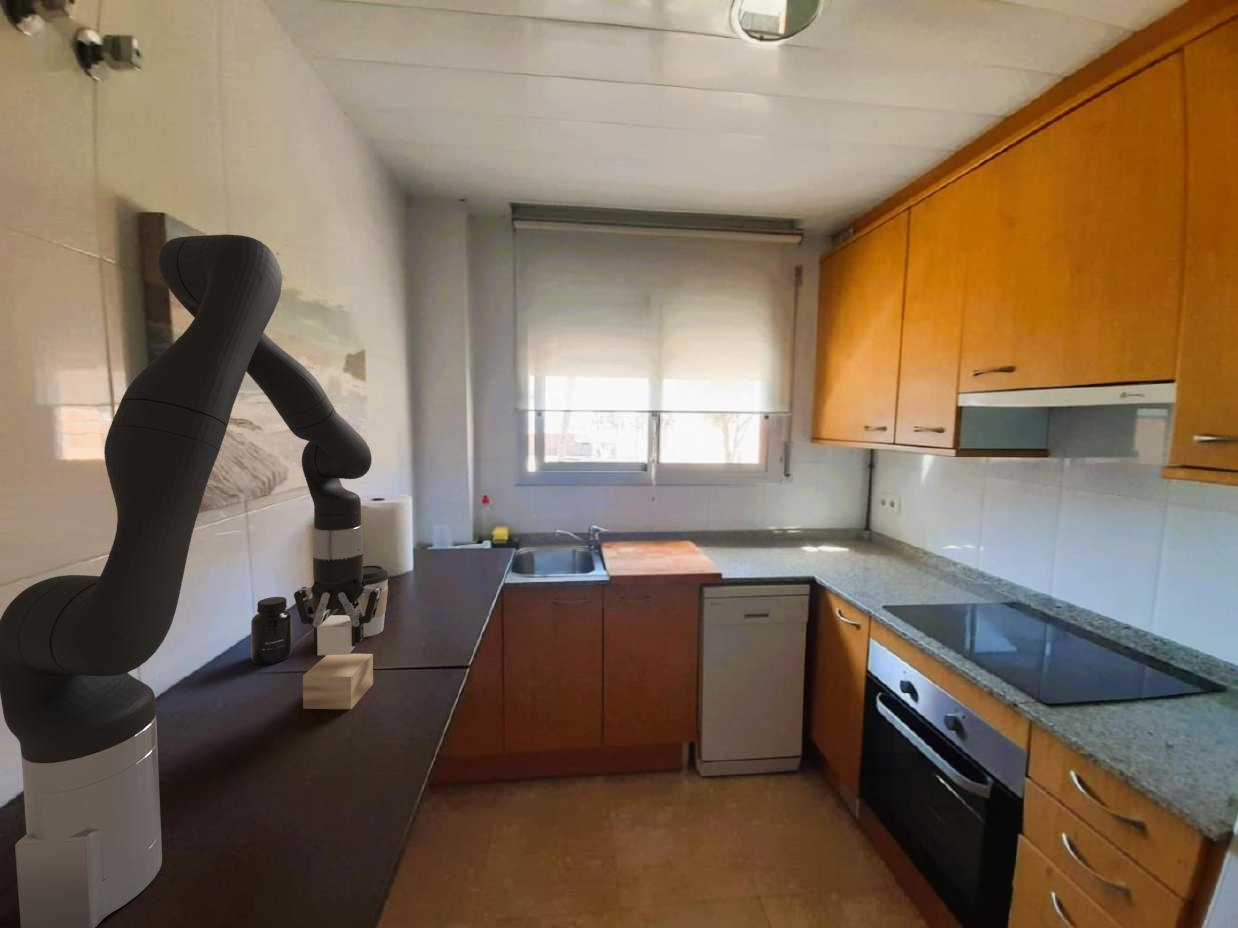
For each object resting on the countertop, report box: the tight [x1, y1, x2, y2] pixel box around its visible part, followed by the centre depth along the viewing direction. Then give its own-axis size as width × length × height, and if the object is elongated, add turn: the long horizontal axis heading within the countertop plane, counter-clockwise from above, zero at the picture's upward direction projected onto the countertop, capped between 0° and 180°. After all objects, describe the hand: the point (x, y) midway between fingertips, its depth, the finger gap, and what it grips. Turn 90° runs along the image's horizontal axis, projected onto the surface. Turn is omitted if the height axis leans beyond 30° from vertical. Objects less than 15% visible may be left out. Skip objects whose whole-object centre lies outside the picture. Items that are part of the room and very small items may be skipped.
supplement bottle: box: [250, 596, 293, 666], centre depth 98 cm, size 7×7×12 cm
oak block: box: [302, 653, 374, 710], centre depth 86 cm, size 8×8×6 cm
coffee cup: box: [359, 564, 390, 638], centre depth 111 cm, size 9×9×15 cm
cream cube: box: [316, 614, 356, 656], centre depth 85 cm, size 5×5×5 cm
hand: (339, 644), depth 85 cm, fingers closed on cream cube, 5 cm apart
